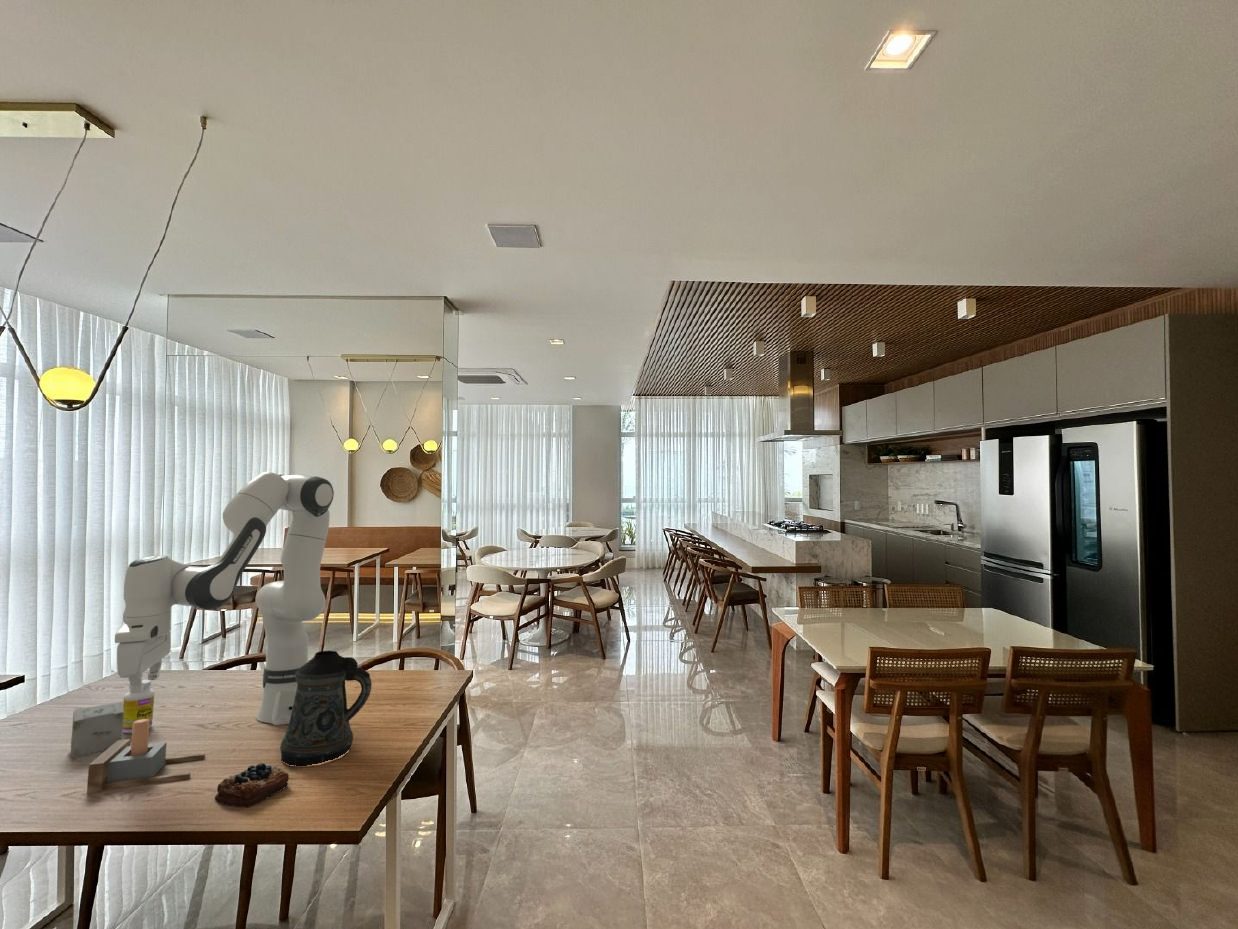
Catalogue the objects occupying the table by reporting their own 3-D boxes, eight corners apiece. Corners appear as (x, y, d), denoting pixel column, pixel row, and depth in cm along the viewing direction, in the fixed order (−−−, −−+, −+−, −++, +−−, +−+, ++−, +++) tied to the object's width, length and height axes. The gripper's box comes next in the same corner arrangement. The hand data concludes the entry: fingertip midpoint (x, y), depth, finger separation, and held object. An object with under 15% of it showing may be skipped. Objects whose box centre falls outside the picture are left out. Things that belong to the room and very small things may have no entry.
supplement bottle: (134, 735, 158) (137, 686, 159) (114, 733, 160) (118, 684, 160) (158, 726, 165) (161, 679, 166) (139, 724, 166) (142, 677, 167)
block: (165, 763, 141) (166, 742, 141) (150, 780, 133) (152, 757, 133) (124, 768, 138) (125, 746, 138) (106, 785, 130) (108, 762, 130)
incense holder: (69, 761, 142) (72, 717, 143) (70, 750, 148) (73, 708, 149) (122, 750, 149) (125, 708, 150) (120, 740, 155) (123, 699, 156)
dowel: (148, 771, 137) (151, 718, 138) (142, 776, 135) (146, 723, 135) (132, 773, 136) (136, 720, 137) (126, 778, 133) (130, 724, 134)
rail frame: (206, 755, 146) (207, 731, 146) (187, 780, 133) (189, 753, 133) (115, 766, 140) (117, 740, 140) (86, 793, 127) (88, 764, 127)
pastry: (207, 804, 123) (208, 775, 124) (256, 778, 135) (258, 752, 135) (247, 812, 120) (249, 782, 121) (295, 785, 132) (296, 758, 132)
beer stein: (273, 751, 149) (278, 651, 151) (354, 733, 161) (358, 640, 163) (287, 774, 136) (292, 665, 138) (373, 753, 149) (377, 652, 151)
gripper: (148, 618, 146) (147, 674, 146) (110, 637, 127) (109, 702, 127) (178, 615, 149) (177, 671, 148) (146, 634, 129) (144, 698, 129)
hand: (145, 685), depth 137 cm, fingers open, 8 cm apart
